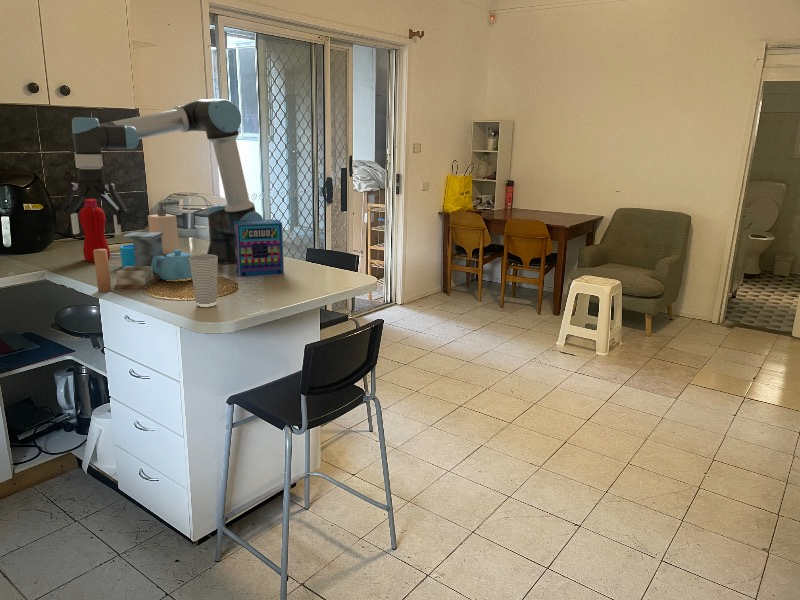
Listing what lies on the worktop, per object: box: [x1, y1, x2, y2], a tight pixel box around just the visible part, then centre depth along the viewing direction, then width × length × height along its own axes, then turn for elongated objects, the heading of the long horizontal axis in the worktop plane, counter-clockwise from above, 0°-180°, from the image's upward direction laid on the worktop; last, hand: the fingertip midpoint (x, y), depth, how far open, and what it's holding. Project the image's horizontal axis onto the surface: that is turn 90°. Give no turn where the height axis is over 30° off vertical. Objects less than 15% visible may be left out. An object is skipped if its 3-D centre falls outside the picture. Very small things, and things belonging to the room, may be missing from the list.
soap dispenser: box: [147, 200, 180, 255], centre depth 263 cm, size 13×9×22 cm
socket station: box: [114, 231, 164, 290], centre depth 211 cm, size 11×20×16 cm, turn 1°
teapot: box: [151, 249, 192, 281], centre depth 218 cm, size 15×15×11 cm
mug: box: [119, 243, 135, 268], centre depth 236 cm, size 12×8×8 cm
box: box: [234, 219, 285, 278], centre depth 226 cm, size 17×9×20 cm, turn 111°
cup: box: [189, 253, 219, 304], centre depth 184 cm, size 8×8×16 cm
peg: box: [93, 249, 112, 293], centre depth 198 cm, size 4×4×14 cm
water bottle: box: [78, 198, 111, 263], centre depth 242 cm, size 9×11×25 cm
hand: (97, 234), depth 195 cm, fingers open, 13 cm apart
